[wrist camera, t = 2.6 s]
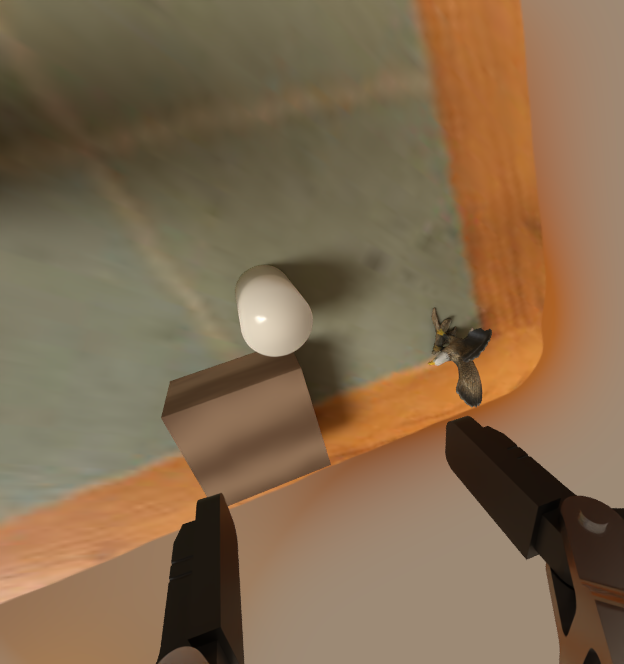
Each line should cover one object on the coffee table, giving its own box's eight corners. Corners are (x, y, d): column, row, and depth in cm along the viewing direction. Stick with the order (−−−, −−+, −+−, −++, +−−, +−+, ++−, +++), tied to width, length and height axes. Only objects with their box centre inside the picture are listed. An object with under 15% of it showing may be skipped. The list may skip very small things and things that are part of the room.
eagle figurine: (401, 326, 36) (453, 365, 28) (456, 293, 36) (524, 323, 28) (421, 376, 40) (472, 423, 32) (472, 345, 40) (535, 385, 32)
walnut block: (170, 379, 32) (161, 417, 27) (287, 339, 34) (301, 367, 28) (215, 465, 37) (215, 511, 32) (315, 427, 39) (330, 464, 34)
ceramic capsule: (229, 271, 29) (232, 297, 22) (286, 259, 30) (307, 281, 23) (242, 324, 31) (250, 364, 24) (295, 312, 32) (317, 346, 25)
